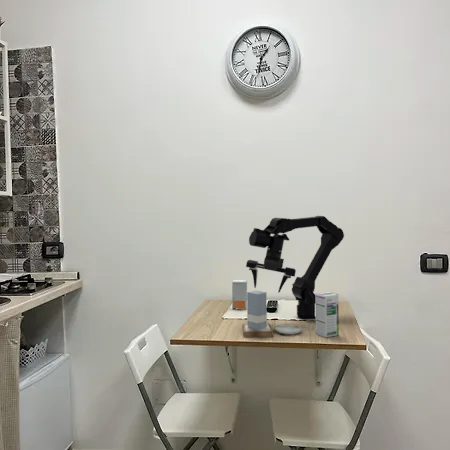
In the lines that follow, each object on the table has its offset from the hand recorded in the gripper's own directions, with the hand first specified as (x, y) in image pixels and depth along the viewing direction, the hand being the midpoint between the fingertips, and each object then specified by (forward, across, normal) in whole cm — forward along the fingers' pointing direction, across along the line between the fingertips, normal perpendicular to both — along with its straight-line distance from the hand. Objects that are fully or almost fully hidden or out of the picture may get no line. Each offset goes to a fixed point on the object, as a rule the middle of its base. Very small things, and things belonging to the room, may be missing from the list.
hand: (266, 290), depth 184 cm
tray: (+14, 0, -13) cm, 19 cm away
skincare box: (+12, -11, +22) cm, 28 cm away
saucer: (+12, +11, -12) cm, 20 cm away
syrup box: (+10, +24, -12) cm, 29 cm away
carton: (+12, 0, -14) cm, 18 cm away
